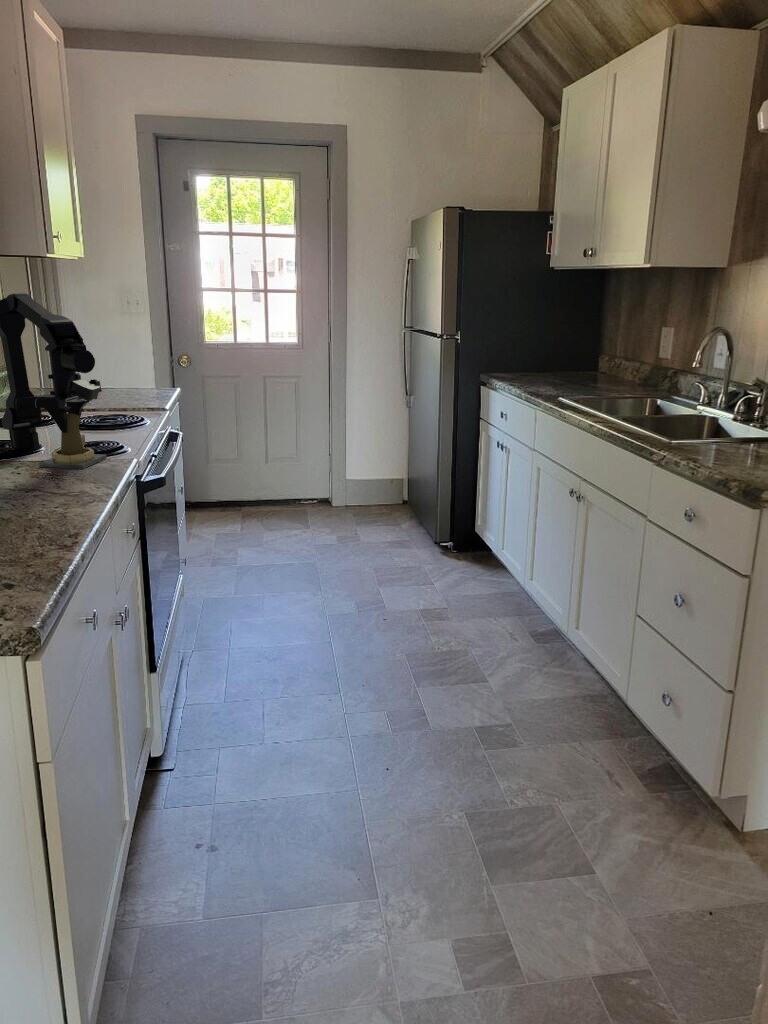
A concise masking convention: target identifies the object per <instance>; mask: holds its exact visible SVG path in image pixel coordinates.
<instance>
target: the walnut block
mask: <svg viewBox="0 0 768 1024" xmlns="http://www.w3.org/2000/svg"><path fill="white" fill-rule="evenodd" d="M80 435H81V439H82V442H83V446H84V445H85V444H86V437H85V434H82V433H80ZM86 445H87V444H86Z"/></svg>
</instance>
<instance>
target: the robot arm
mask: <svg viewBox="0 0 768 1024" xmlns="http://www.w3.org/2000/svg"><path fill="white" fill-rule="evenodd" d="M26 319H27V320H28V321H29V322H30V323H32V324H33V325H34V326H35V327H37V328H38V329H39V335H40V336H41V337H42V339H44V341H45V342H47V345H46V346H45V347H44V350H45V351H46V352H48V356H49V362H50V363H49V364H50V372H51V373H50V374H48V375H47V377H48V379H50V380H51V381H52V389H53V390H49V393H50V394H42V395H39V396H35V395H34V393H33V392H32V391H31V388H30V383H29V377H28V372H27V371H28V370H27V365H26V361H25V354H24V353H25V352H24V349H23V348H24V347H23V341H22V335H23V333H24V331H25V328H26ZM0 340H1V345H2V351H3V357H4V362H5V368H6V375H7V380H8V385H9V394H8V396H7V397H6V400H5V412H4V413H3V417H2V419H1V425H2V429H4V430H8V433H9V439H10V448H11V447H12V448H14V449H16V450H25V451H24V452H31V451H34V450H37V449H39V448H41V447H42V445H41V444H40V441H39V433H38V432H37V427H41V424H42V409H44V410H46V411H47V412H48V414H49V415H50V417H51V418H52V419H53V421H54V423H55V424H56V426H57V427H58V428H59V430H60V432H62V433H66V432H67V413H74V414H77V415H78V416H79V418H80V419H81V417H82V413H83V409H84V408H85V406H86V405H87V404H89V403H90V402H91V401H93V400H98V397H99V394H100V393H102V391H103V389H102V386H101V381H100V380H99V379H97V378H92V379H90V380H89V381H88V380H83V379H82V378H81V377H82V376H81V374H88V373H90V372H92V371H93V370H94V368H95V365H96V359H95V356H94V354H93V353H92V352H91V351H90V350H88V349H87V345H86V344H85V342H84V338H83V337H82V335H81V334H80V332H79V330H78V328H77V326H76V324H75V323H74V322H73V320H71V319H70V318H68V317H66V316H64V315H59V314H54V313H52V312H51V311H49V310H48V309H47V308H46V307H44V306H43V305H41V304H40V303H39V302H37V301H36V300H35V299H33V298H32V296H31V294H28V293H26V292H25V293H24V292H21V293H19V292H18V293H10V294H9V295H7V296H6V297H4V298H2V299H0ZM80 373H81V374H80ZM79 426H80V425H79ZM79 426H78V427H79Z"/></svg>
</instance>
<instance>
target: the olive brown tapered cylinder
mask: <svg viewBox="0 0 768 1024" xmlns="http://www.w3.org/2000/svg"><path fill="white" fill-rule="evenodd" d="M80 424H81V417H80V418H79V416H78V415H77V414H74V413H67V432H66V433H62V432H61V431H60V432H61V436H60V437H61V440H60V445H61V446H60V449H61V454H62V455H74V454H82V453H85V450H84V446H83V442H82V439H81V431H80V428H79V427H78V426H80Z"/></svg>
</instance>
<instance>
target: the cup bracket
mask: <svg viewBox="0 0 768 1024" xmlns="http://www.w3.org/2000/svg"><path fill="white" fill-rule="evenodd" d="M84 450H85V453H82V454H74V455H62V454H61V448H58V449H55V450H53V451H51V458H48V459H45V460H43V461H40V462H39V463H38V464H39V467H40V468H57V469H58V468H59V469H60V468H61V469H75V468H79V469H80V470H84V469H87V468H88V466H89V467H91V466H93V465H95V464H98V463H100V462H102V461H104V460H107V459H108V456H107V455H108V454H103V453H102V454H100V453H99V454H98V453H97V454H96V453H95V451H94V449H92V448H91V447H86V448H85V447H84ZM106 458H107V459H106ZM101 460H102V461H101ZM99 461H100V462H99ZM97 462H98V463H97ZM90 465H91V466H90Z"/></svg>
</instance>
